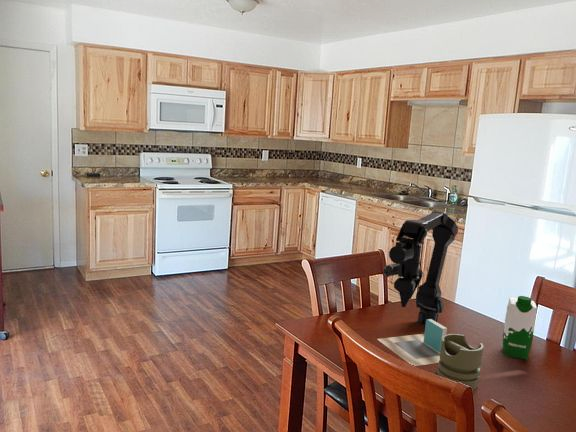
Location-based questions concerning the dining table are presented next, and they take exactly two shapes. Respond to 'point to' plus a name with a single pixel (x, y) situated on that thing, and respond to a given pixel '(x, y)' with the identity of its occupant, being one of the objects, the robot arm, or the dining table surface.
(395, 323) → the dining table surface
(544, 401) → the dining table surface
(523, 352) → the milk carton
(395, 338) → the board
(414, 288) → the robot arm
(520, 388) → the dining table surface
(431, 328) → the tile
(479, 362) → the piston
